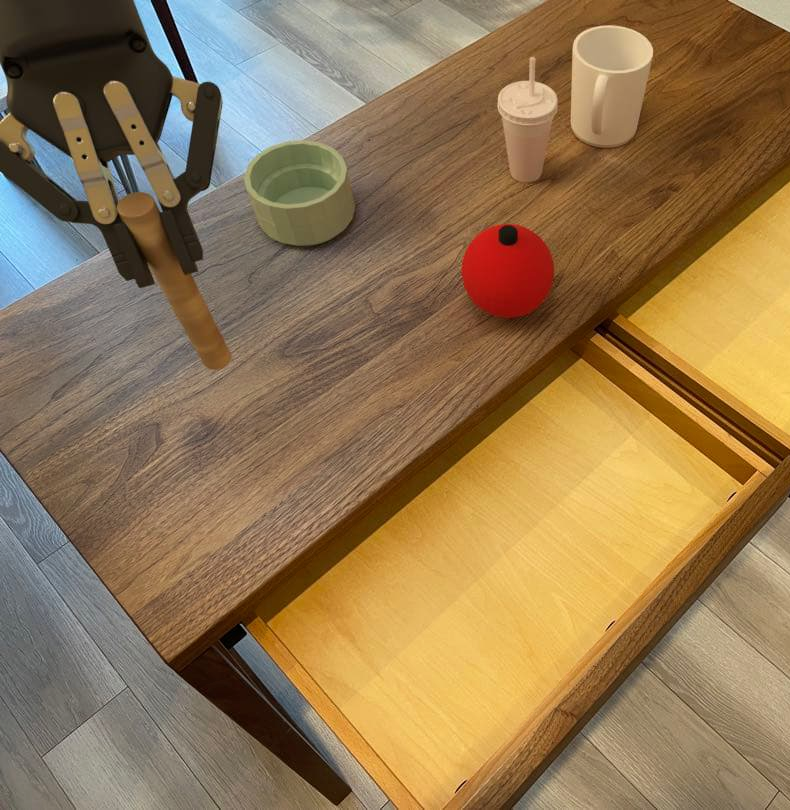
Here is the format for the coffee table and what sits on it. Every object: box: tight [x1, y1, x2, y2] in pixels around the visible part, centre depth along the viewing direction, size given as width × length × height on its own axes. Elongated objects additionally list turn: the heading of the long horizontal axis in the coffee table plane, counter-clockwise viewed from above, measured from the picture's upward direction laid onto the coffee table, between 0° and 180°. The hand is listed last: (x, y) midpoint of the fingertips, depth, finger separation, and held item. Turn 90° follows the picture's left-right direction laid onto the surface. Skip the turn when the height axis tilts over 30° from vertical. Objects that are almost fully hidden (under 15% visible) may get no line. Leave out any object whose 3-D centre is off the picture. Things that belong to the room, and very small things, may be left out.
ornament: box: [461, 223, 555, 319], centre depth 75 cm, size 9×9×10 cm
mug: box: [570, 24, 654, 149], centre depth 90 cm, size 11×9×10 cm
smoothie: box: [496, 56, 559, 183], centre depth 84 cm, size 6×6×14 cm
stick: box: [117, 191, 232, 371], centre depth 50 cm, size 2×2×15 cm
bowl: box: [243, 139, 356, 247], centre depth 82 cm, size 10×10×6 cm
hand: (169, 278), depth 46 cm, fingers closed on stick, 2 cm apart
